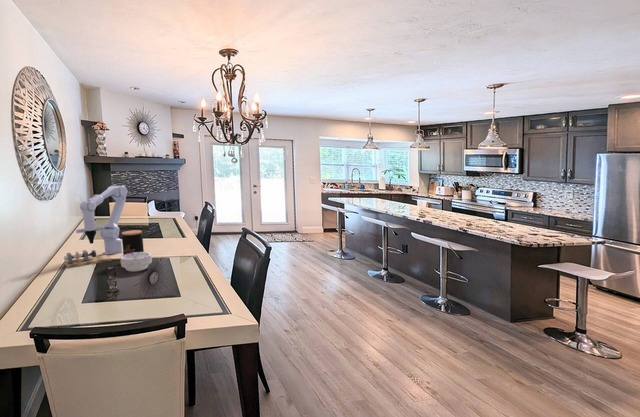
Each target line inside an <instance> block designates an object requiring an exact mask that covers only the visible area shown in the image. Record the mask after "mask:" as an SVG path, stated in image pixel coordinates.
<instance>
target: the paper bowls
mask: <svg viewBox="0 0 640 417" xmlns="http://www.w3.org/2000/svg"><path fill="white" fill-rule="evenodd" d="M119 259H120V266H121V267H122V268H125V270H126V271H128V272H133V273H134V272H141V271H144V270H146V269H147V268H148V266H149V265H150V264H152V263H153V262H152V261H153V260H152V259H153V258H152V253H150V252H147V251H144V252H135V253H129V254H125V255H123V254H122V255H121V256H120V257H119Z"/></svg>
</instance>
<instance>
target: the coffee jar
mask: <svg viewBox="0 0 640 417" xmlns="http://www.w3.org/2000/svg"><path fill="white" fill-rule="evenodd" d="M142 233H143V230H140V229H135V230H133V229H132V230H127V231H123V232H121V235H122V236H121V245H122V256H123V255H125V254H129V253H135V252H145V250H144V238H143V237H144V235H143V234H142Z"/></svg>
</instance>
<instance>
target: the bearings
mask: <svg viewBox="0 0 640 417" xmlns="http://www.w3.org/2000/svg"><path fill="white" fill-rule="evenodd" d="M88 253H89V252H88V251H87V250H82V254H84V257H82V258H83V260H85V261H89V260H88V258H89V256H88ZM79 254H80V253H79V251H75V255H77V258H75V260H76V261H77V262H80V259H81V258H79ZM72 255H73V254H71V252H66V256H68V260H66V261H67V262H68V263H69V264H72V260H73V259H72Z"/></svg>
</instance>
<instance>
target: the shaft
mask: <svg viewBox="0 0 640 417" xmlns="http://www.w3.org/2000/svg"><path fill="white" fill-rule="evenodd" d="M71 255H72V260H76V258H77V255H76V254H71ZM96 256H97V251H96V250H95V249H93V250H91V252H88V257H96ZM83 257H84V254H83V253H79V259H82V258H83ZM63 259H64V261H67V260H68V256H67V255H66V256H63Z"/></svg>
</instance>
